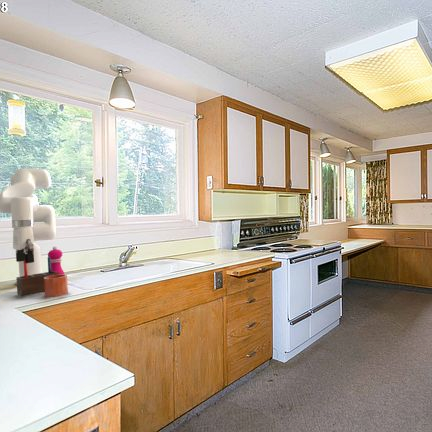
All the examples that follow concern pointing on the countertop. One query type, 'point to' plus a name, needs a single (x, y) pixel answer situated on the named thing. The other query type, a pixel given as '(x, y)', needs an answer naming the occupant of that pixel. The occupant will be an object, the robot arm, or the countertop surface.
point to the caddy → (32, 283)
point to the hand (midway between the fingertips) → (25, 262)
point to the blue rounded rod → (49, 265)
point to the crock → (55, 285)
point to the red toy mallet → (25, 269)
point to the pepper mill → (56, 260)
